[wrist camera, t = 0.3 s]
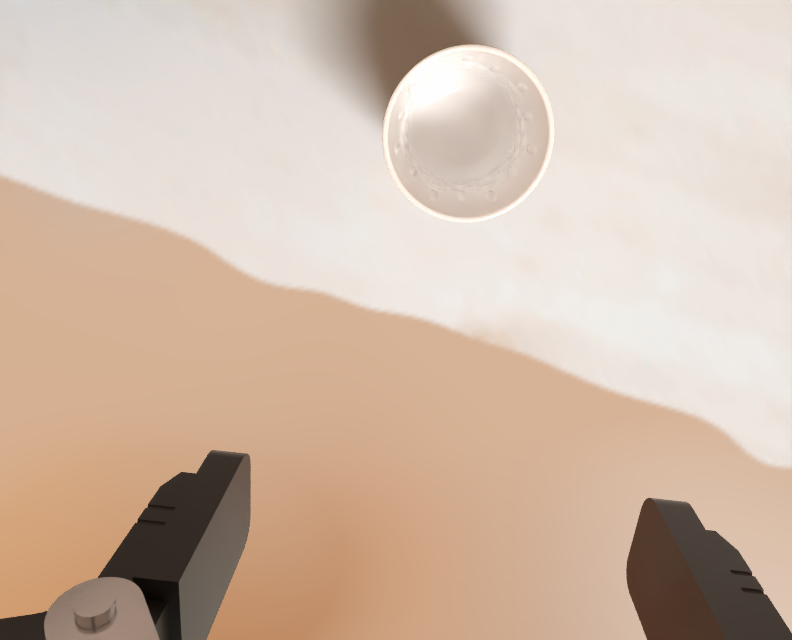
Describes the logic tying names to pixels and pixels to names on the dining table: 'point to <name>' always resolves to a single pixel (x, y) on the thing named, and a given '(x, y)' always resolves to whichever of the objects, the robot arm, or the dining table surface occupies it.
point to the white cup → (468, 133)
